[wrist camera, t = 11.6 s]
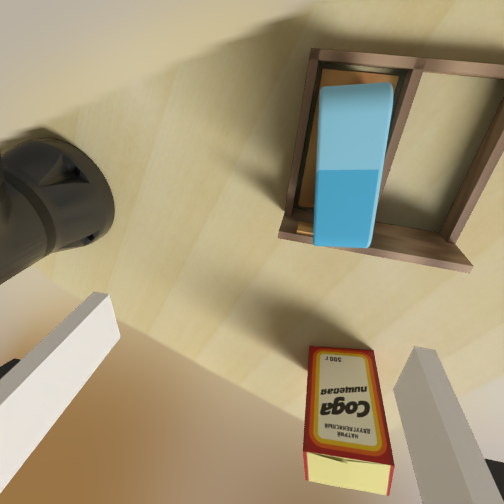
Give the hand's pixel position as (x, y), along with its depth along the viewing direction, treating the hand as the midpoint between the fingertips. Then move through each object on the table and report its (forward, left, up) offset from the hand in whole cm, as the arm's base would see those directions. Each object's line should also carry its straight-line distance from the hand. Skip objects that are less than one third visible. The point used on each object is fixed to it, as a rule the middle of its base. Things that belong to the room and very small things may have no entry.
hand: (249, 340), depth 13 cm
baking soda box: (+12, -28, -25) cm, 39 cm away
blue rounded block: (+4, +4, -25) cm, 25 cm away
